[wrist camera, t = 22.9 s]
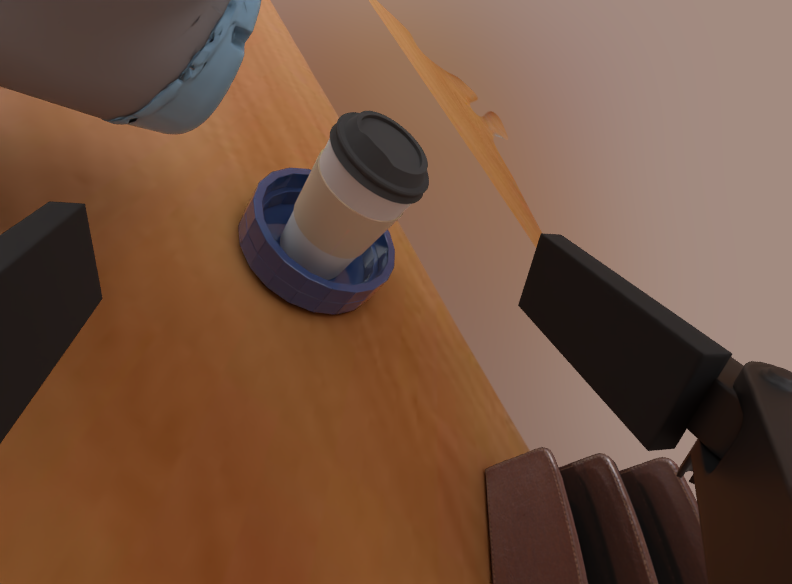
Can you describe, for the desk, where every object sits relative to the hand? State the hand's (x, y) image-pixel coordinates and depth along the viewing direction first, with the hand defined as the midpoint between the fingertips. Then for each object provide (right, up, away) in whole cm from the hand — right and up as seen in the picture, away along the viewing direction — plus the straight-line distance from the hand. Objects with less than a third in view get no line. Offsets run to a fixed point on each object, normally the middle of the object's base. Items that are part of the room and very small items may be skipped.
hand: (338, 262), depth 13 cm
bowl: (-7, +3, +31) cm, 32 cm away
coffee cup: (-7, +3, +31) cm, 32 cm away
